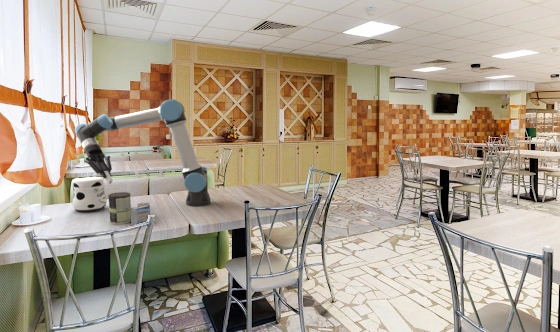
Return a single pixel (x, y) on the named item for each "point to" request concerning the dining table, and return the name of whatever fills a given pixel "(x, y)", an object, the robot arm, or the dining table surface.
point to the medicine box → (139, 214)
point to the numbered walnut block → (143, 204)
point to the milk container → (89, 194)
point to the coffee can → (119, 207)
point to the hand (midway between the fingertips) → (110, 182)
